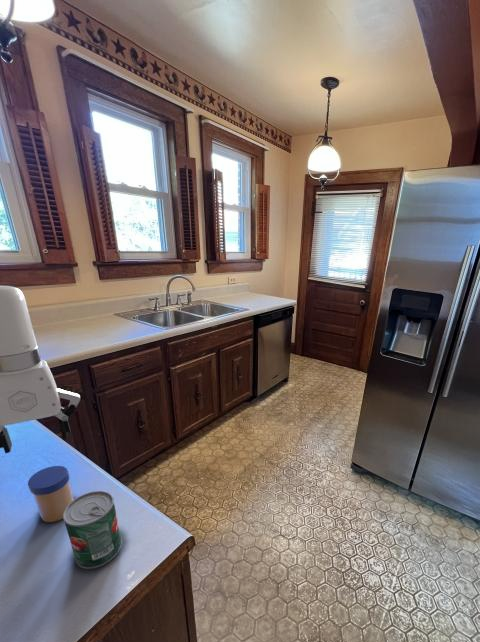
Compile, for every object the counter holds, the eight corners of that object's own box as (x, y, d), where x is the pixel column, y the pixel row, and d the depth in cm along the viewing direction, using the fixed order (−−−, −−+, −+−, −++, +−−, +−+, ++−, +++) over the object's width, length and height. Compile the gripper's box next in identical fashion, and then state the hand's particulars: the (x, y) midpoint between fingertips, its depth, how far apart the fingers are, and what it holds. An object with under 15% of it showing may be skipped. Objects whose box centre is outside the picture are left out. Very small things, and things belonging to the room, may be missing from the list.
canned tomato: (65, 560, 58) (51, 516, 54) (100, 526, 65) (91, 485, 60) (97, 575, 55) (86, 531, 51) (131, 539, 62) (123, 497, 58)
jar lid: (28, 500, 61) (26, 493, 60) (30, 479, 66) (28, 472, 65) (70, 487, 64) (68, 480, 64) (68, 468, 69) (67, 461, 69)
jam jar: (40, 526, 64) (29, 493, 60) (41, 506, 69) (31, 474, 65) (76, 514, 67) (67, 482, 64) (74, 495, 72) (66, 464, 68)
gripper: (-63, 376, 47) (-26, 468, 54) (73, 358, 56) (90, 439, 63) (-51, 360, 52) (-18, 445, 59) (71, 346, 62) (87, 421, 68)
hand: (38, 441), depth 61 cm, fingers open, 8 cm apart
